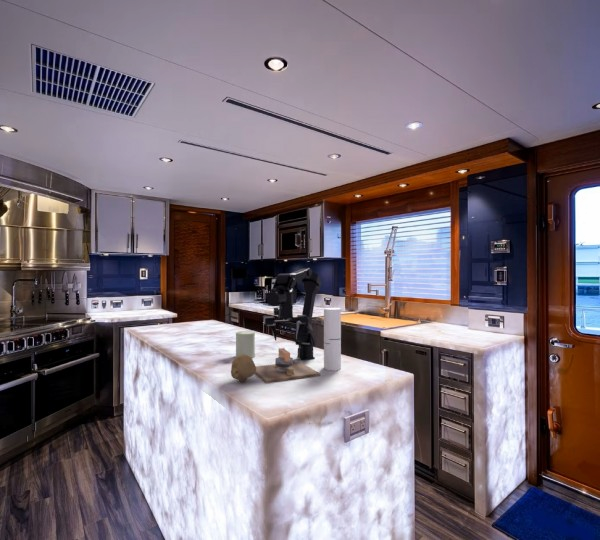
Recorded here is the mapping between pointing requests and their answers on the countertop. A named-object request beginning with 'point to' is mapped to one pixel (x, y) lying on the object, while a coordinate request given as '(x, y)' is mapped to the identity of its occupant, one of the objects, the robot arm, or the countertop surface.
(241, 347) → the can
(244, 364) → the natural sponge
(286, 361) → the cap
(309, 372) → the post board
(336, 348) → the cylindrical container
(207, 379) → the countertop surface
